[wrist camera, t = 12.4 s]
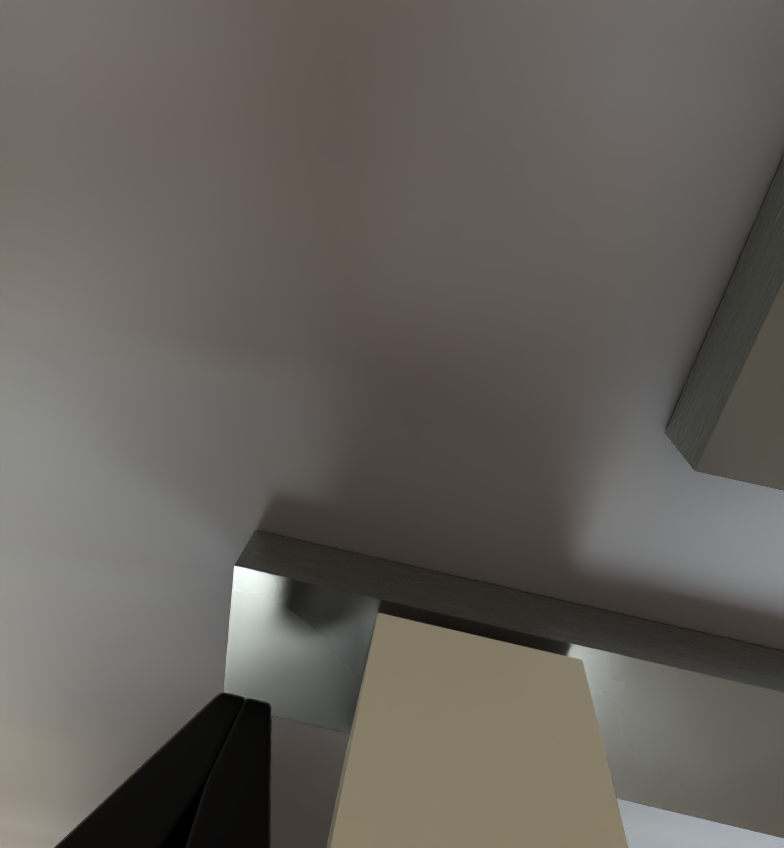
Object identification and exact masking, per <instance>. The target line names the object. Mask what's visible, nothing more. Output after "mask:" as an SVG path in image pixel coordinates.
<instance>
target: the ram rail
mask: <svg viewBox="0 0 784 848" xmlns="http://www.w3.org/2000/svg"><path fill="white" fill-rule="evenodd" d="M378 613H382V614H386V615H391V616H395V617H399V618H404V619H408V620H412V621H416V622H421V623H425V624H429V625H434V626H438V627H442V628H447V629H451V630H455V631H460V632H464V633H468V634H472V635H477V636H481V637H485V638H490V639H494V640H498V641H503V642H507V643H511V644H516V645H520V646H524V647H528V648H533V649H537V650H541V651H546V652H550V653H554V654H559V655H563V656H567V657H572V658H576V659H580V660H583V664H584V669H585V673H586V677H587V681H588V685H589V689H590V693H591V697H592V701H593V705H594V710H595V714H596V718H597V722H598V726H599V730H600V734H601V738H602V742H603V746H604V750H605V755H606V759H607V763H608V767H609V771H610V775H611V779H612V783H613V787H614V791H615V796H616V798H618V799H622V800H627V801H631V802H635V803H639V804H643V805H647V806H652V807H656V808H660V809H664V810H668V811H672V812H677V813H681V814H685V815H689V816H693V817H697V818H702V819H706V820H710V821H714V822H718V823H722V824H727V825H731V826H735V827H739V828H743V829H748V830H752V831H756V832H760V833H764V834H768V835H773V836H777V837H781V838H784V651H780V650H775V649H771V648H766V647H762V646H758V645H753V644H749V643H745V642H740V641H736V640H732V639H727V638H723V637H718V636H714V635H710V634H705V633H701V632H697V631H692V630H688V629H683V628H679V627H675V626H670V625H666V624H662V623H657V622H653V621H648V620H644V619H640V618H635V617H631V616H627V615H622V614H618V613H614V612H609V611H605V610H600V609H596V608H592V607H587V606H583V605H579V604H574V603H570V602H565V601H561V600H557V599H552V598H548V597H544V596H539V595H535V594H531V593H526V592H522V591H517V590H513V589H509V588H504V587H500V586H496V585H491V584H487V583H482V582H478V581H474V580H469V579H465V578H461V577H456V576H452V575H447V574H443V573H439V572H434V571H430V570H426V569H421V568H417V567H413V566H408V565H404V564H399V563H395V562H391V561H386V560H382V559H378V558H373V557H369V556H364V555H360V554H356V553H351V552H347V551H343V550H338V549H334V548H330V547H325V546H321V545H316V544H312V543H308V542H303V541H299V540H295V539H290V538H286V537H281V536H277V535H273V534H268V533H264V532H260V531H255V532H254V534H253V535H252V537H251V539H250V540H249V542H248V544H247V545H246V547H245V549H244V550H243V552H242V554H241V555H240V557H239V559H238V560H237V562H236V564H235V565H234V575H233V586H232V598H231V609H230V620H229V632H228V643H227V654H226V666H225V677H224V689H223V692H228V693H232V694H237V695H241V696H244V697H246V698H254V699H259V700H263V701H267V702H269V703H270V704H271V708H272V716H276V717H280V718H285V719H289V720H293V721H297V722H301V723H305V724H310V725H314V726H318V727H322V728H326V729H330V730H335V731H339V732H343V733H347V734H350V733H351V728H352V724H353V720H354V715H355V711H356V706H357V702H358V698H359V693H360V689H361V684H362V680H363V676H364V671H365V667H366V663H367V658H368V654H369V649H370V645H371V641H372V636H373V632H374V628H375V623H376V619H377V614H378Z"/></svg>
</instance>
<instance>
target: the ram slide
mask: <svg viewBox="0 0 784 848" xmlns="http://www.w3.org/2000/svg"><path fill="white" fill-rule="evenodd" d="M326 848H628V845H627V841H626V837H625V832H624V828H623V824H622V820H621V816H620V812H619V808H618V804H617V800H616V796H615V791H614V787H613V783H612V779H611V775H610V771H609V767H608V763H607V759H606V755H605V750H604V746H603V742H602V738H601V734H600V730H599V726H598V722H597V718H596V714H595V710H594V705H593V701H592V697H591V693H590V689H589V685H588V681H587V677H586V673H585V669H584V664H583V660H580V659H576V658H572V657H567V656H563V655H559V654H554V653H550V652H546V651H541V650H537V649H533V648H528V647H524V646H520V645H516V644H511V643H507V642H503V641H498V640H494V639H490V638H485V637H481V636H477V635H472V634H468V633H464V632H460V631H455V630H451V629H447V628H442V627H438V626H434V625H429V624H425V623H421V622H416V621H412V620H408V619H404V618H399V617H395V616H391V615H386V614H382V613H378V614H377V619H376V623H375V628H374V632H373V636H372V641H371V645H370V649H369V654H368V658H367V663H366V667H365V671H364V676H363V680H362V684H361V689H360V693H359V698H358V702H357V706H356V711H355V715H354V720H353V724H352V728H351V733H350V737H349V741H348V746H347V750H346V755H345V760H344V765H343V769H342V774H341V779H340V784H339V789H338V794H337V798H336V803H335V808H334V813H333V818H332V822H331V827H330V832H329V837H328V842H327V846H326Z"/></svg>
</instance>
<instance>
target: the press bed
mask: <svg viewBox="0 0 784 848" xmlns="http://www.w3.org/2000/svg"><path fill="white" fill-rule="evenodd" d="M665 434H666V435H667V436H668V437H669V439H670V440H671V441H672V443H673V444H674V445H675V446H676V448H677V449H678V450H679V451H680V453H681V454H682V455H683V456H684V458H685V459H686V460H687V462H688V463H689V464H690V465H691V467H692V468H693V469H694V470H695V471H698V472H702V473H707V474H711V475H716V476H721V477H725V478H730V479H734V480H739V481H743V482H748V483H753V484H757V485H762V486H766V487H771V488H775V489H780V490H784V157H783V159H782V161H781V164H780V166H779V168H778V171H777V173H776V175H775V178H774V180H773V182H772V185H771V187H770V189H769V192H768V194H767V196H766V199H765V201H764V203H763V206H762V208H761V210H760V213H759V215H758V217H757V220H756V222H755V224H754V227H753V229H752V231H751V234H750V236H749V238H748V241H747V243H746V245H745V248H744V250H743V252H742V255H741V257H740V259H739V262H738V264H737V266H736V269H735V271H734V273H733V276H732V278H731V280H730V283H729V285H728V287H727V290H726V292H725V294H724V297H723V299H722V301H721V304H720V306H719V308H718V311H717V313H716V315H715V318H714V320H713V322H712V325H711V327H710V329H709V332H708V334H707V336H706V339H705V341H704V343H703V346H702V348H701V350H700V353H699V355H698V357H697V360H696V362H695V364H694V367H693V369H692V371H691V374H690V376H689V378H688V381H687V383H686V385H685V388H684V390H683V392H682V395H681V397H680V399H679V402H678V404H677V406H676V409H675V411H674V413H673V416H672V418H671V420H670V423H669V425H668V427H667V430H666V432H665Z"/></svg>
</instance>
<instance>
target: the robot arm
mask: <svg viewBox="0 0 784 848" xmlns="http://www.w3.org/2000/svg"><path fill="white" fill-rule="evenodd" d="M271 724H272V708H271V704H270V703H269V702H267V701H263V700H259V699H254V698H246V697H244V696H241V695H237V694H232V693H228V692H222V693H219V694H218V695H217V696H216V697H214V698H213V699H212V700H211V701H210V702H209V703H208V704H207V705H206V706H205V707H204V708H203V709H202V710H201V711H199V712H198V713H197V714H196V715H195V716H194V717H193V718H192V719H191V720H190V721H189V722H188V723H187V724H186V725H185V726H183V727H182V728H181V729H180V730H179V731H178V732H177V733H176V734H175V735H174V736H173V737H172V738H171V739H170V740H169V741H167V742H166V743H165V744H164V745H163V746H162V747H161V748H160V749H159V750H158V751H157V752H156V753H155V754H154V755H152V756H151V757H150V758H149V759H148V760H147V761H146V762H145V763H144V764H143V765H142V766H141V767H140V768H139V769H138V770H136V771H135V772H134V773H133V774H132V775H131V776H130V777H129V778H128V779H127V780H126V781H125V782H124V783H123V784H122V785H120V786H119V787H118V788H117V789H116V790H115V791H114V792H113V793H112V794H111V795H110V796H109V797H108V798H107V799H105V800H104V801H103V802H102V803H101V804H100V805H99V806H98V807H97V808H96V809H95V810H94V811H93V812H92V813H91V814H89V815H88V816H87V817H86V818H85V819H84V820H83V821H82V822H81V823H80V824H79V825H78V826H77V827H76V828H74V829H73V830H72V831H71V832H70V833H69V834H68V835H67V836H66V837H65V838H64V839H63V840H62V841H61V842H60V843H58V844H57V845H56V846H55V847H54V848H270V845H271Z"/></svg>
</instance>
